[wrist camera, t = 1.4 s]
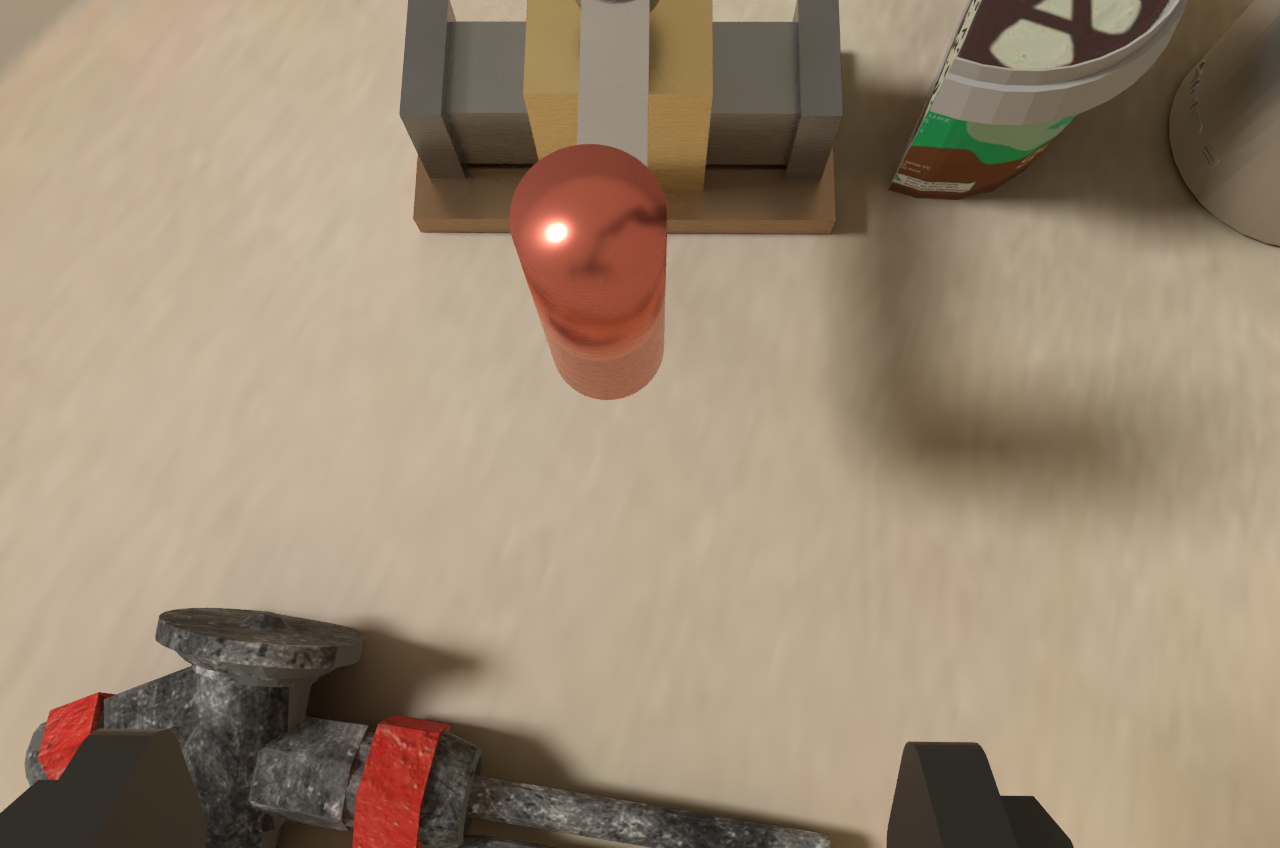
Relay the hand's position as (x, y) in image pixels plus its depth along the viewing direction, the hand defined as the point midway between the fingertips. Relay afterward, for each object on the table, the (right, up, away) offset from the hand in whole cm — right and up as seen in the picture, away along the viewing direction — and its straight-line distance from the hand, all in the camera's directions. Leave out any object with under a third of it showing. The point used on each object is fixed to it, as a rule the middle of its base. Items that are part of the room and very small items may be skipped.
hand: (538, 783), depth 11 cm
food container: (+16, +16, +29) cm, 36 cm away
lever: (0, +12, +18) cm, 21 cm away
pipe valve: (+1, +15, +28) cm, 32 cm away
